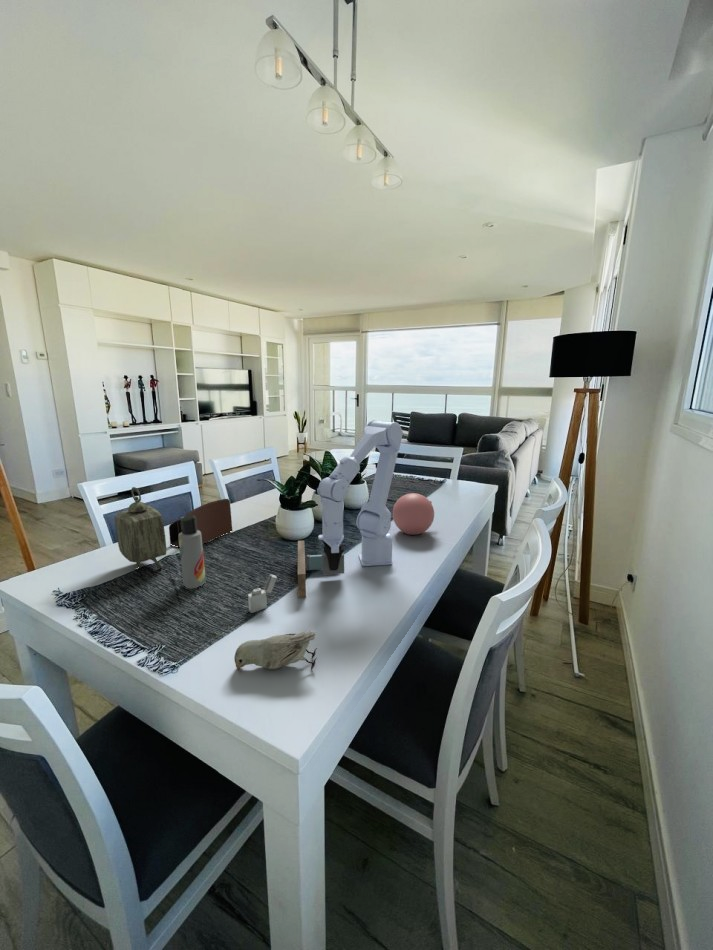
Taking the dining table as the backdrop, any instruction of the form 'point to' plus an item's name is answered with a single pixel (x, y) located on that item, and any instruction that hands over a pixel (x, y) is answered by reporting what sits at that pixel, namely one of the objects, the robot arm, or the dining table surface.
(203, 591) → the dining table surface
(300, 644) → the decorative bird
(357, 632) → the dining table surface
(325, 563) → the block
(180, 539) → the lotion bottle
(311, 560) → the door
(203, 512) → the letter holder
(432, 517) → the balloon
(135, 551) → the tabletop clock
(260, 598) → the lighter
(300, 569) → the wooden plank
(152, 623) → the dining table surface
